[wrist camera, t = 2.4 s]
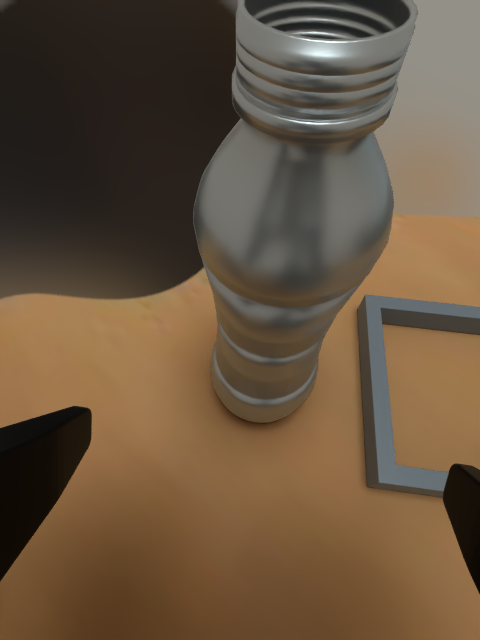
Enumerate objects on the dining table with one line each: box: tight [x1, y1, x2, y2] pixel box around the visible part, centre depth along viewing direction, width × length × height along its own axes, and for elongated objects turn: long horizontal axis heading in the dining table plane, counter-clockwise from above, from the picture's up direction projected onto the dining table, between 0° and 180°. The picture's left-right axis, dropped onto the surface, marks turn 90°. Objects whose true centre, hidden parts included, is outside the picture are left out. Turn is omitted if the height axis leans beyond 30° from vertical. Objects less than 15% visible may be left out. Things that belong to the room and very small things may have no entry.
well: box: [357, 295, 480, 497], centre depth 23 cm, size 12×12×2 cm
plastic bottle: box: [193, 0, 418, 423], centre depth 16 cm, size 6×7×20 cm
